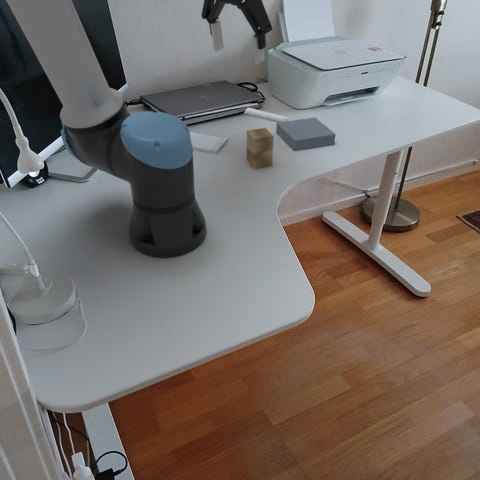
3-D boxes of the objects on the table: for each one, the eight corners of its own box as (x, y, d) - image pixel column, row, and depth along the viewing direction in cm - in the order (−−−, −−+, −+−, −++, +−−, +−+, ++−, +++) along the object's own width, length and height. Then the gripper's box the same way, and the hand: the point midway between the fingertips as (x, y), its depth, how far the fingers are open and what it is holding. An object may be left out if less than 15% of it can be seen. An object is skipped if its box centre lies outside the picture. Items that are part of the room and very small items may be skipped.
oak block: (253, 168, 111) (254, 139, 107) (246, 159, 115) (246, 130, 110) (272, 165, 113) (273, 136, 108) (264, 156, 116) (265, 127, 112)
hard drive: (173, 143, 120) (216, 150, 117) (186, 131, 126) (228, 137, 123) (174, 148, 121) (216, 156, 118) (187, 136, 127) (228, 143, 124)
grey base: (293, 151, 119) (294, 140, 117) (276, 132, 128) (276, 122, 126) (334, 144, 122) (335, 134, 120) (314, 127, 131) (315, 117, 129)
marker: (293, 124, 134) (293, 116, 132) (289, 126, 132) (290, 119, 131) (242, 111, 141) (242, 104, 140) (238, 113, 140) (238, 106, 138)
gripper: (286, -43, 90) (288, 60, 105) (200, -55, 103) (213, 39, 118) (261, -32, 86) (268, 74, 101) (175, -46, 99) (193, 50, 114)
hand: (238, 55), depth 110 cm, fingers open, 13 cm apart
